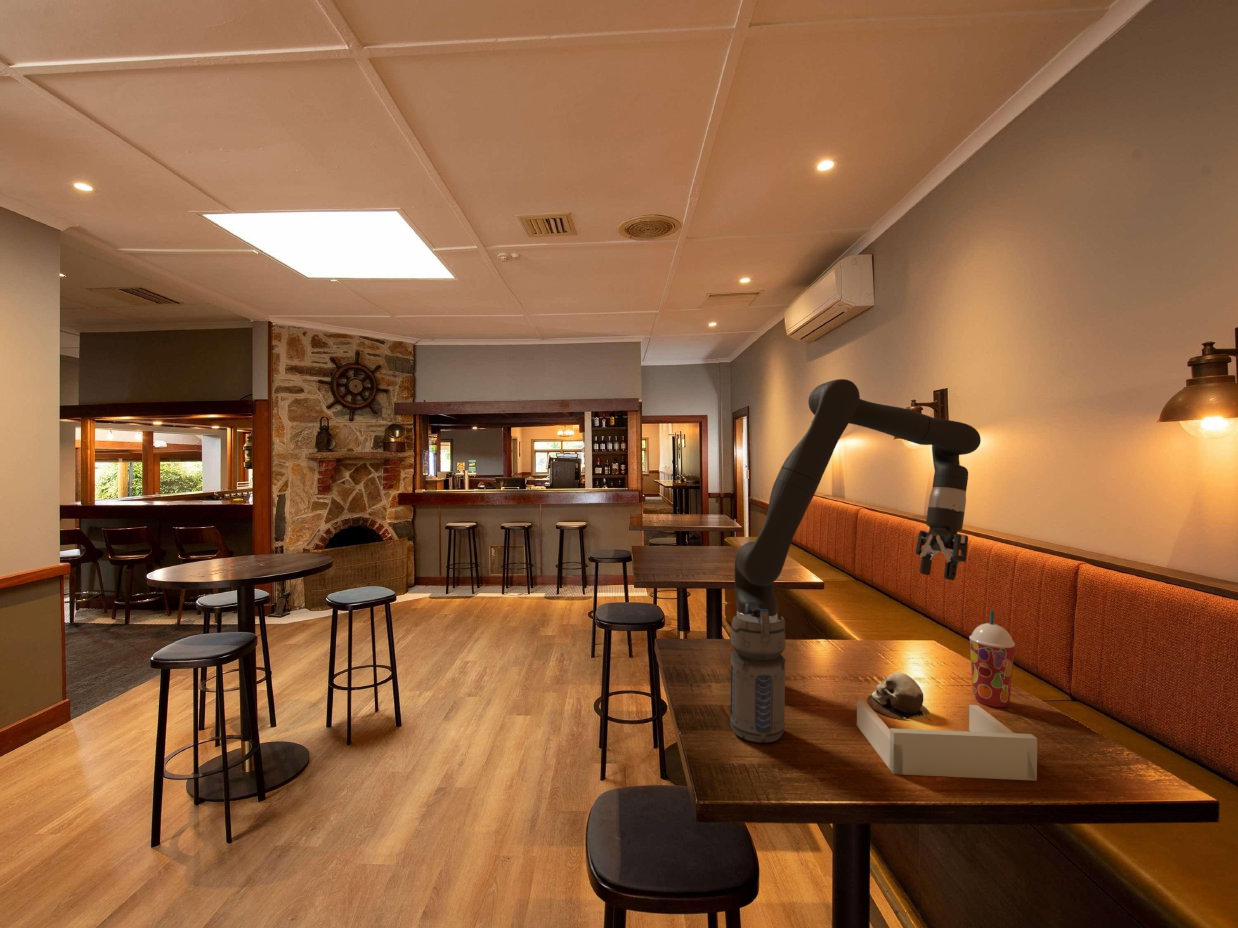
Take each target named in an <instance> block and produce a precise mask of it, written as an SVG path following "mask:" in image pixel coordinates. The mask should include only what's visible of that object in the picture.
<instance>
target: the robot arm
mask: <svg viewBox="0 0 1238 928" xmlns="http://www.w3.org/2000/svg"><path fill="white" fill-rule="evenodd" d="M860 395H861V394H860V391H859V389H858V387H857V385H856V384H855V383H854V382H853V381H851V380H850V379H847V378H845V379H843V378H840V379H839V378H838V379H833V380H830V381H827V382H824V383H822V384H820V385H817V386H816V387H814V389H813V390H811V392H810V394H809V396H808V402H807V404H808V408H809V410H810V411H811V414H813V415H814V417H813V419H812V422H811V423H810V426H809V428H808V429H807V431H806V433H805V434H804V436H802V438H801V439H800V440H799V442H798V443H797V444H796V446H795V447H794V448H793V449H792V451H791V452H789V454H788V456H787V457H786V459H785V460H784V462H783V463H782V465H781V467H780V470H779V472H778V473H777V476H776V478H775V481H774V483H773V486H772V488H771V492H770V497H769V501H768V507H767V513H766V518H765V521H764V524H763V526H762V529H761V530H760V531H759V534H758V536H757V538H756V539H755V541H748V542H746V543H744V544H743V545H741V546H740V547H739V549H738V550H737V552H736V554H735V558H734V559H735V560H734V595H735V601H736V617H738V616H742V615H745V604H746V602H747V601H748V600H754V601H756V602H757V603H758V605H759V608H760V609H768V612H769V616H771V617H774V618H776V619H778V601H777V598H776V595H775V589H774V583H775V581H777V580H778V578H779V577H780V575H781V574H782V571H783V568H784V566H785V562H786V560H787V557H788V553H789V550H790V547H791V544H792V542H793V539H794V538H795V537H794V536H795V535H796V532H797V530H798V528H799V527H800V524H801V522H802V520H803V518H804V517H805V514H806V512H807V511H808V508H809V505H810V504H811V502H812V500H813V498H814V496H815V494H816V492H817V490H818V487H819V486H820V483H821V481H822V478H823V475H824V473H825V472H826V469H827V467H828V464H829V463H830V461H831V459H832V456H833V453H834V452H835V449H836V446H837V444H838V443H839V441H840V439H841V437H842V435H843V433H844V432H845V430H846V429H847V427H848V426H849V424H850V425H855V426H858V427H863V428H867V429H870V430H874V431H876V432H880V433H883V434H886V435H889V436H892V437H896V438H898V439H901V440H904V441H908V442H909V443H913V444H917V445H920V446H931V452H932V454H931V455H932V463H933V468H934V469H933V470H934V474H933V481H932V487H931V491H930V495H929V499H928V507H927V513H926V518H925V519H926V521H925V525H926V526H927V527H929V530H928V531H927V530H926V531H925V530H920V531H918V538H917V542H916V543H917V544H916V549H915V554H916V555H917V556H919V557H920V559H921V560H920V564H919V565H920V566H919V573H920V574H921V575H926V576H930V575H931V571H932V563H933V560H932V559H933V558H934V557H935V555H937V554H939V553H940V552H941V553H942V554H943V555H944V557H945V560H946V561H945V566H944V571H943V572H944V574H943V578H944V580H945V579H946V580H948V581H949V580H950V581H955V579H956V576H957V571H958V565H959V564H960V563H962V562H963V563H965V562H966V561H967V556H968V543H969V536H968V535H966V534H963V533H962V534H961V533H958V532H960V531H962V530H963V526H964V521H965V520H964V519H965V512H966V506H967V505H966V504H967V489H968V481H969V470H968V469H967V468H966V467H965V466H963V465H961V463H960V456H964V455H968V454H971V453H973V452H975V451H976V450H978V448H979V447H980V445H981V441H982V440H981V439H982V438H981V435H980V433H979V431H978V430H977V429H976V428H975V427H973V425H970V424H967V423H964V422H960V421H955V420H951V419H950V420H949V419H946V418H945V419H944V418H936V417H932V416H930V415H927V414H923V413H920V412H917V411H915V410H912V409H908V408H904V407H899V406H894V405H893V406H892V405H886V404H881V403H875V402H871V401H867V400H865V399H862V398H860ZM922 548H923V549H922ZM758 614H760V612H759V613H758Z"/></svg>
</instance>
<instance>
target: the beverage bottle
mask: <svg viewBox="0 0 1238 928" xmlns="http://www.w3.org/2000/svg"><path fill="white" fill-rule="evenodd" d="M759 612H760V614H758V613H759ZM780 618H781V620H780V619H779V618H777V619H776V618H774V617H771V616H769V612H768V609H760V608H759V605H758V603H757V602H756V601H754V600H748V601H747V602H746V604H745V615H742V616H738V617H737V615H733V617H732V620H731V629H730V640H731V641H730V644H731V646H732V648H733V649H734V651H732V653H731V655H730V716H729V717H730V718H729V719H730V722H729V724H730V727H731V729H732V731H733V733H734V734H735V735H736V736H738V737H739V738H741V739H745V740H746V741H749V742H752V743H753V742H754V743H759V744H760V743H761V744H763V743H764V744H765V743H767V744H768V743H773V742H776V741H778V740H780V739H781V738H782V736H783V735H784V733H785V707H786V705H785V703H786V701H785V699H786V696H785V695H786V692H785V691H786V658H784V656H783V655H782V653H783V652H784V650H786V621H785V618H784V616H780Z"/></svg>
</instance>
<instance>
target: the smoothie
mask: <svg viewBox="0 0 1238 928" xmlns="http://www.w3.org/2000/svg"><path fill="white" fill-rule="evenodd" d="M989 612H990V613H989V614H990V615H989V622H986V623H982V624H979V625H978V626H976V627H975V628H974V630H973V631H972V633H971V635H969V636H968V638H969V648H970V649H969V651H970V665H971V666H970V667H971V670H970V671H971V682H972V683H971V684H972V686H971V687H972V694H973V695H974V696H975V697H974V698H975V700H976V701H977V702H978V703H979V704H982V705H985V706H988V707H992V708H1005V707H1007V704H1008V702H1010V701H1011V691H1012V680H1013V679H1012V678H1013V670H1014V669H1013V668H1014V667H1013V666H1014V659H1015V658H1014V657H1015V646H1016V643H1015V641H1013V639H1012V638H1013V637H1012V636H1011V634H1010V633H1009V631H1008V630H1006V629H1005V628H1004V627H1002V626H1000V625H999V624H997V623H994V622H995V616H994V615H995V612H994V611H993V610H990V611H989Z"/></svg>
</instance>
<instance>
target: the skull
mask: <svg viewBox="0 0 1238 928" xmlns="http://www.w3.org/2000/svg"><path fill="white" fill-rule="evenodd" d="M875 687H876V689H875V691H873V692H872V694H871V695H868V697H867V698H866V703H867V704H868V705H869V706H870V707H871V709H872V710H873V711H874V712H875V711H877V712H878V713H880V714H881V715H883V716H887V717H888V718H891V719H893V718H894V719H896V720H900V721H904V722H905V721H909V722H911V720H912V717H917V716H919V717H921V716H924V715H925V716H927V715H931V714H930V711H929V709H928V708H927V707H925V705H923V703H924V693H923V690H922V688H921V687H920V685H919V684H918V683H917V682H916V680H914V679H913V678H912V677H911V676H909V675H908V674H906V673H903V672H902V673H901V672H895V673H890V674H889V675H888V676H887V677H885V678H884V679H883V680H882V681H881V683H879V684H878V685H876V686H875ZM910 719H911V720H910Z"/></svg>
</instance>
